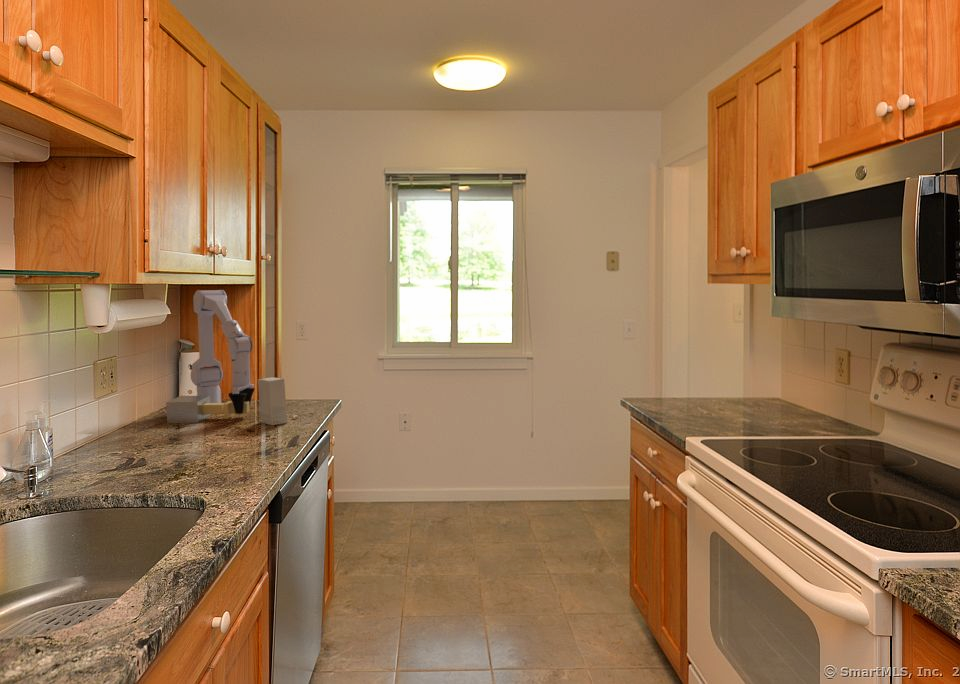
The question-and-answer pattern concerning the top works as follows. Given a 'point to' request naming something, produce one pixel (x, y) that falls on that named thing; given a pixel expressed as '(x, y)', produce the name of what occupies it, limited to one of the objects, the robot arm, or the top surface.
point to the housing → (186, 409)
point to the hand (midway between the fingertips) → (242, 411)
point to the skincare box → (272, 401)
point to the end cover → (223, 408)
